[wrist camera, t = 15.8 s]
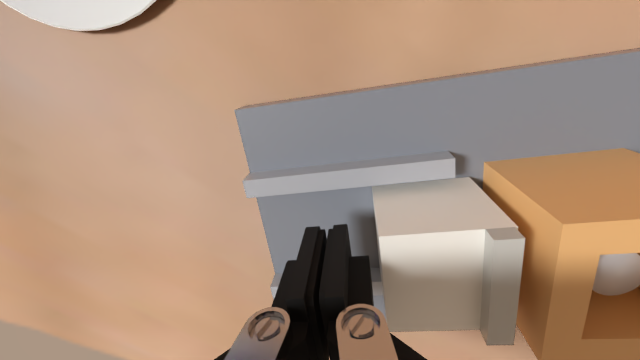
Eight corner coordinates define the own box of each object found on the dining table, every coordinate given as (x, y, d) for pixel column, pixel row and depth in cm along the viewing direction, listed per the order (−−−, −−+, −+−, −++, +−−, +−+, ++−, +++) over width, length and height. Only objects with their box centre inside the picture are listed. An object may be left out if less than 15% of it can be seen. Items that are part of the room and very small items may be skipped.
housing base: (712, 37, 11) (998, 19, 6) (637, 296, 15) (770, 407, 10) (244, 106, 14) (184, 131, 9) (292, 309, 18) (269, 400, 13)
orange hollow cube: (623, 148, 11) (805, 207, 7) (599, 256, 13) (730, 362, 9) (483, 161, 12) (562, 224, 8) (478, 262, 14) (540, 363, 9)
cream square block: (469, 176, 12) (529, 238, 8) (467, 257, 14) (516, 345, 10) (371, 186, 13) (380, 247, 9) (379, 262, 14) (389, 346, 10)
